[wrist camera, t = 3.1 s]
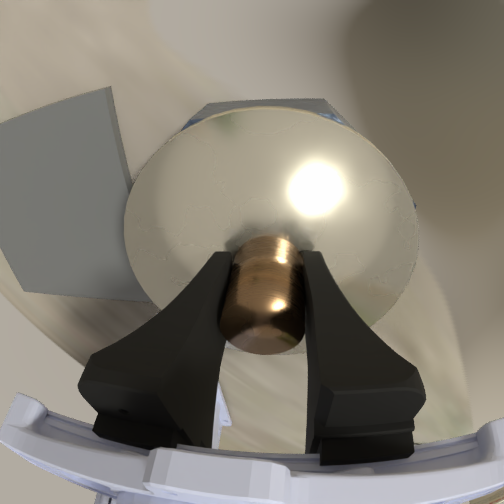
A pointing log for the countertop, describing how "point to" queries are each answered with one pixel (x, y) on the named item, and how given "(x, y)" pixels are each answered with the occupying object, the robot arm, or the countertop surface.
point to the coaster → (67, 200)
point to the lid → (272, 220)
